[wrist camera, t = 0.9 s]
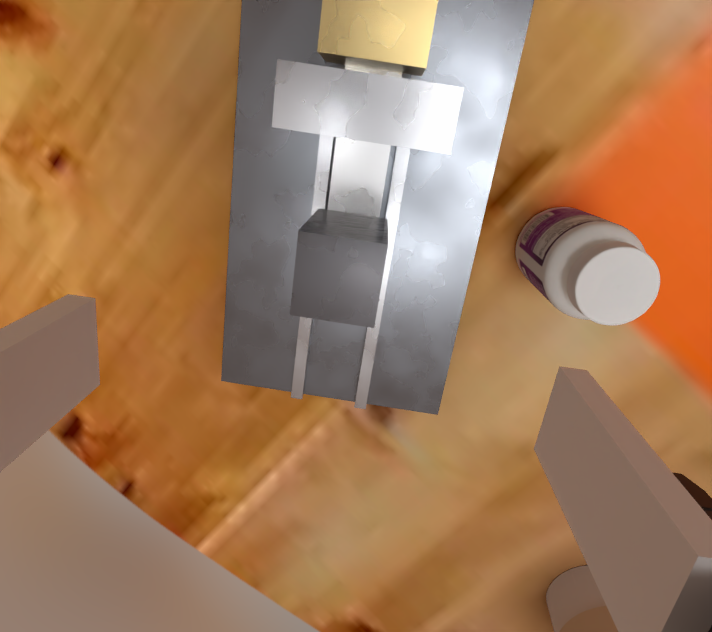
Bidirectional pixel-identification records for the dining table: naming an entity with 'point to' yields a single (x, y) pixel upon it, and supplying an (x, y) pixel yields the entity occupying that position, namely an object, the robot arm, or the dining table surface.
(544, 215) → the pill bottle
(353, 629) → the dining table surface
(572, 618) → the coffee cup
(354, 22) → the block
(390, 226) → the slotted base plate
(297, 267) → the sliding bolt with handle
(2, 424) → the robot arm
